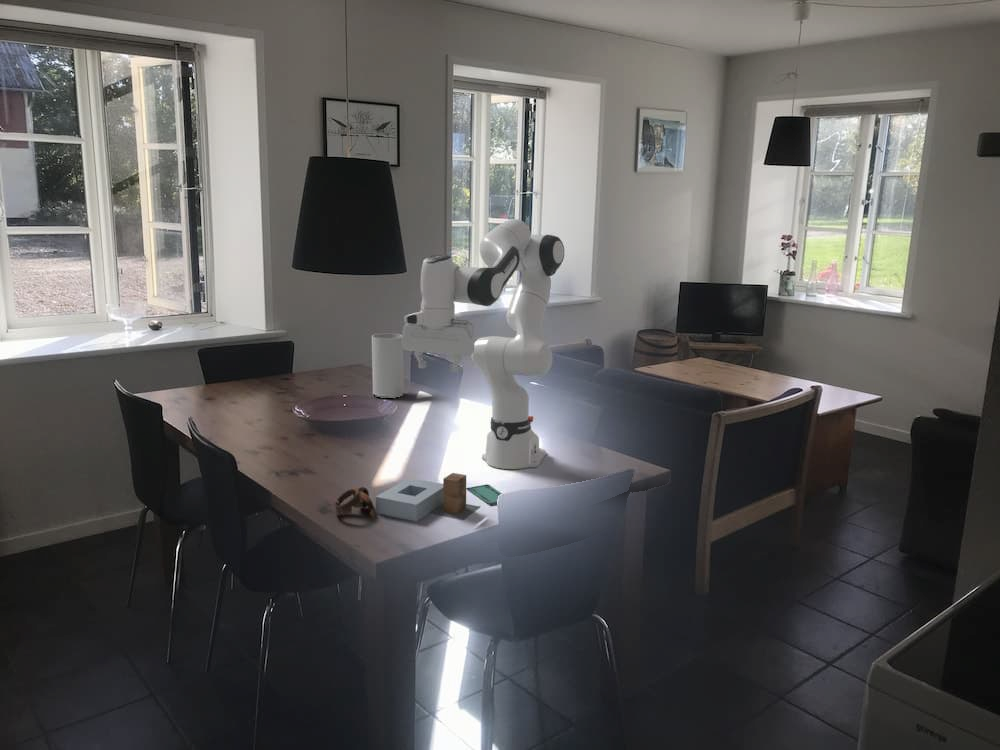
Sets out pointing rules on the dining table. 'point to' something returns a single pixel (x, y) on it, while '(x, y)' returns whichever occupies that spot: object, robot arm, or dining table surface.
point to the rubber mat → (461, 515)
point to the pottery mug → (354, 501)
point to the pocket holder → (410, 499)
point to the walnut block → (454, 493)
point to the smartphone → (485, 494)
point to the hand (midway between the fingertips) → (438, 369)
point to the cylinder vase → (387, 364)
